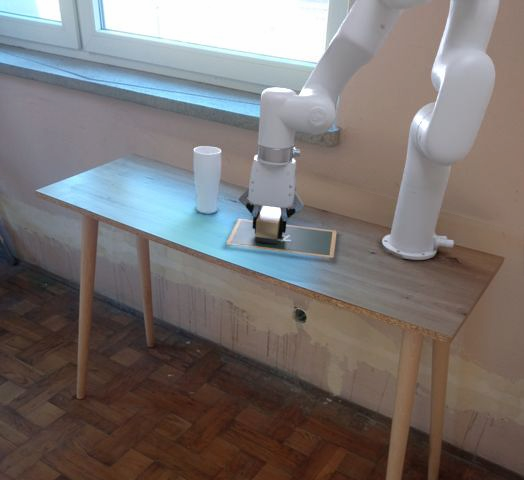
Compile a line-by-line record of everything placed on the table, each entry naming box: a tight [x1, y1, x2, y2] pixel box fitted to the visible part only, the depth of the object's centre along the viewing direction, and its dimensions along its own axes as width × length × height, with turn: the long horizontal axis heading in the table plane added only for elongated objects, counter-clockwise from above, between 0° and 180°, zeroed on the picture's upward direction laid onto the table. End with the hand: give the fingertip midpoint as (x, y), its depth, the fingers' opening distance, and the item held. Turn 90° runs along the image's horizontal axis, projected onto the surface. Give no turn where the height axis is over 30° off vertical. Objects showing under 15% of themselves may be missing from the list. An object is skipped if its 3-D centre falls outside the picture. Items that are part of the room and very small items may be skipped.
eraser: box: [255, 206, 282, 244], centre depth 127 cm, size 5×10×5 cm, turn 171°
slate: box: [225, 218, 338, 259], centre depth 129 cm, size 24×15×1 cm, turn 81°
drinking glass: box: [192, 145, 222, 215], centre depth 136 cm, size 7×7×15 cm
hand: (268, 232), depth 128 cm, fingers closed on eraser, 4 cm apart
